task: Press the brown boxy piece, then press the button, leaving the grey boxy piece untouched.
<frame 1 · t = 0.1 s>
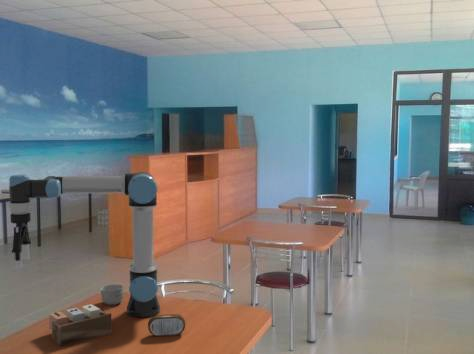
hand: (22, 263, 212), 28 cm above the table, tool pointing down, fingers open, 13 cm apart
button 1: (91, 314, 218), point 5 cm above the table, slide at 0.0 cm
brown boxy piece 3: (58, 322, 209), point 5 cm above the table, slide at 0.0 cm
grey boxy piece 2: (75, 318, 213), point 5 cm above the table, slide at 0.0 cm
console: (77, 332, 212), on the table
tin: (166, 335, 210), on the table
teacup: (113, 302, 250), on the table
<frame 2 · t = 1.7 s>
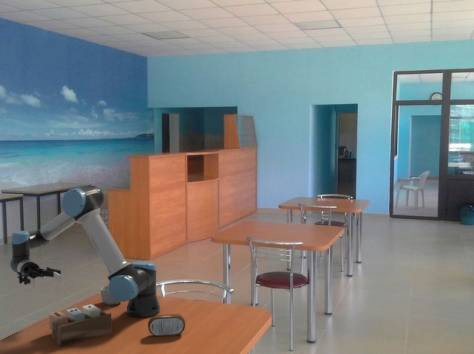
hand: (47, 280, 215), 20 cm above the table, tool horizontal, fingers open, 10 cm apart
nothing on the table moved.
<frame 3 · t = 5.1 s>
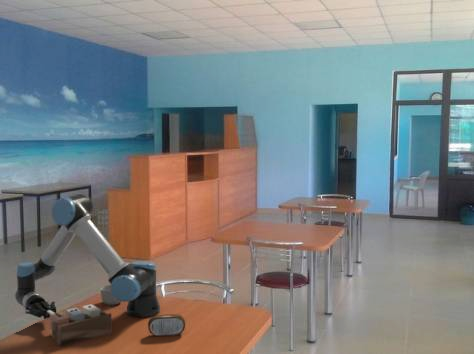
hand: (54, 317, 211), 6 cm above the table, tool horizontal, fingers closed
brown boxy piece 3: (59, 322, 208), point 5 cm above the table, slide at 1.1 cm, touching gripper
everything else where it was.
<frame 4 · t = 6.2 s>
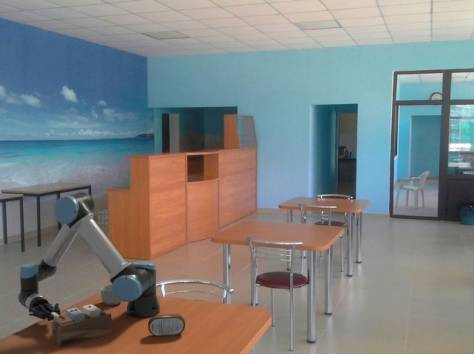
hand: (58, 319, 208), 6 cm above the table, tool horizontal, fingers closed
brown boxy piece 3: (63, 325, 205), point 5 cm above the table, slide at 4.8 cm, touching gripper
everything else where it was.
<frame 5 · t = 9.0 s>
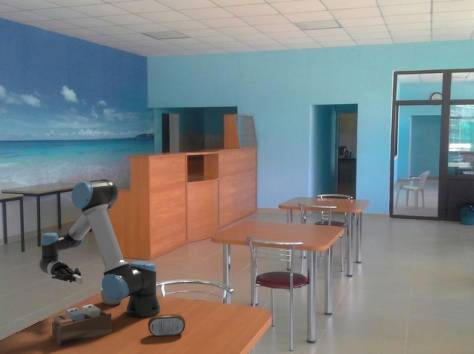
hand: (80, 280, 223), 18 cm above the table, tool horizontal, fingers closed
brown boxy piece 3: (63, 325, 205), point 5 cm above the table, slide at 4.8 cm
everything else where it was.
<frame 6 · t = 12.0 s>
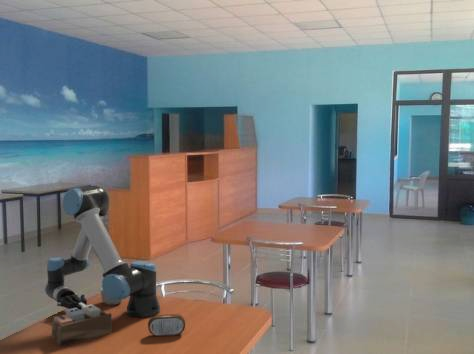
hand: (86, 309, 221), 6 cm above the table, tool horizontal, fingers closed
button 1: (91, 314, 218), point 5 cm above the table, slide at 0.2 cm, touching gripper
everything else where it was.
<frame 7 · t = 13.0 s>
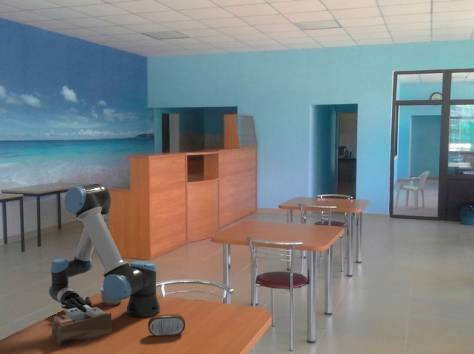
hand: (91, 312, 217), 6 cm above the table, tool horizontal, fingers closed
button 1: (96, 317, 214), point 5 cm above the table, slide at 4.7 cm, touching gripper
everything else where it was.
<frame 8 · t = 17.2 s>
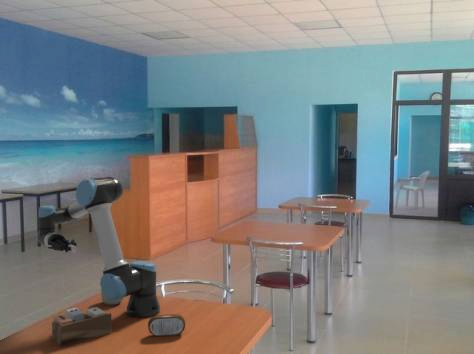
hand: (75, 250, 228), 30 cm above the table, tool horizontal, fingers closed
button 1: (96, 317, 214), point 5 cm above the table, slide at 4.8 cm
everything else where it was.
at the end: brown boxy piece 3 slide at 4.8 cm; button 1 slide at 4.8 cm; grey boxy piece 2 slide at 0.0 cm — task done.
